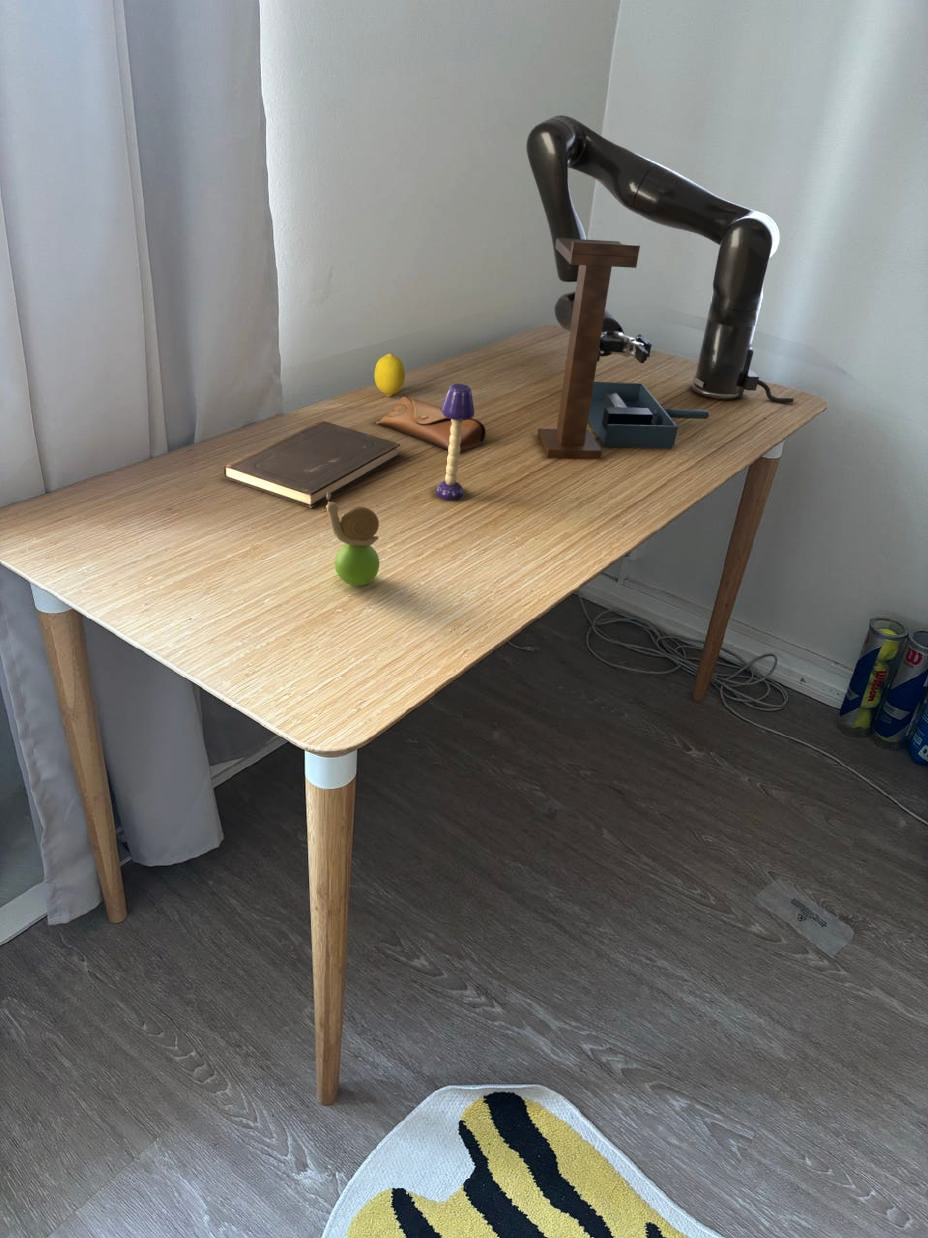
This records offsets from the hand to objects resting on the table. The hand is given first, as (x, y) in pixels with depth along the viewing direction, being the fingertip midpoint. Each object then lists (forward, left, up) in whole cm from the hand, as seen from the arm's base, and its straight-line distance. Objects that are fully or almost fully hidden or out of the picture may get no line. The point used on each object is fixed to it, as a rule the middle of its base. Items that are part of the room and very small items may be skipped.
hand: (621, 356), depth 168 cm
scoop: (-5, +7, -10) cm, 13 cm away
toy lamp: (+35, +38, -10) cm, 52 cm away
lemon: (+42, -3, -10) cm, 43 cm away
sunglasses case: (+36, +14, -10) cm, 40 cm away
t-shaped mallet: (0, +5, -10) cm, 11 cm away
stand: (+13, +18, -10) cm, 24 cm away
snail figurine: (+50, +63, -10) cm, 80 cm away
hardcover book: (+55, +29, -10) cm, 62 cm away
